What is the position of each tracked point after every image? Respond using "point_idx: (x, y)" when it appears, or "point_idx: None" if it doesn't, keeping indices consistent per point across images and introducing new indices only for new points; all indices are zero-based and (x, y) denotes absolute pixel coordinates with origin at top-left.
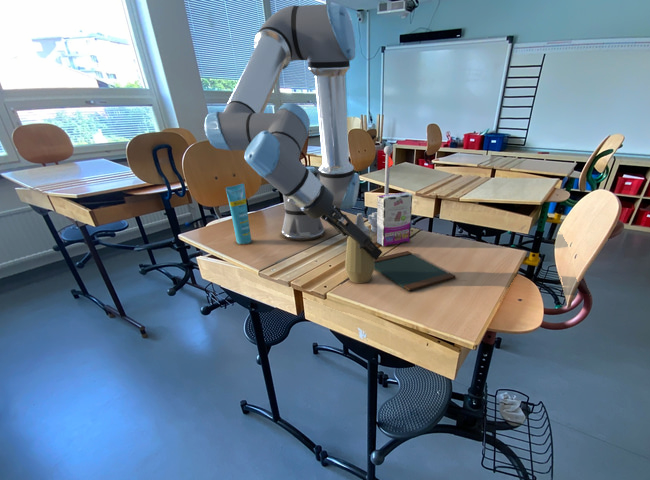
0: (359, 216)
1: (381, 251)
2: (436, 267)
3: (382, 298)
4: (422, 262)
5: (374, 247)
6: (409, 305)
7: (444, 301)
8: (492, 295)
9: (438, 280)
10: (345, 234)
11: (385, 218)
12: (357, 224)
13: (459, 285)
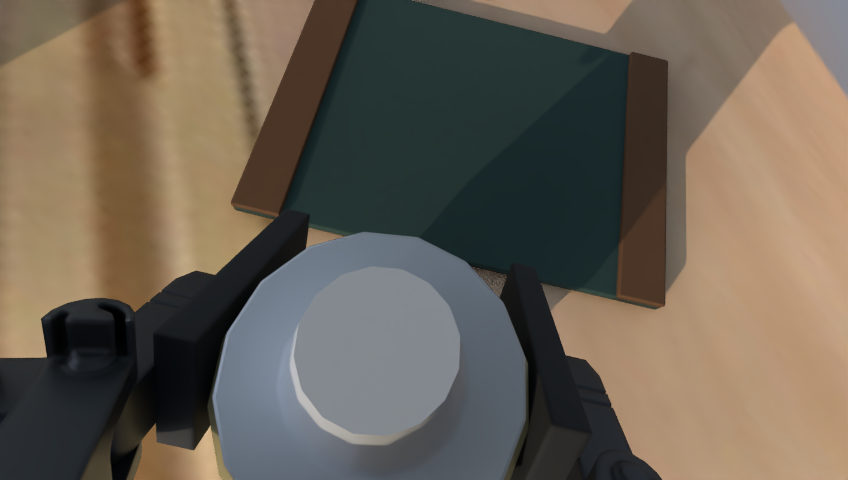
0: (430, 419)
1: (537, 277)
2: (550, 39)
3: None
4: (469, 33)
5: (596, 379)
6: (759, 414)
7: (796, 263)
8: (832, 99)
9: (665, 141)
10: (135, 457)
11: None
12: (398, 466)
13: (713, 108)
